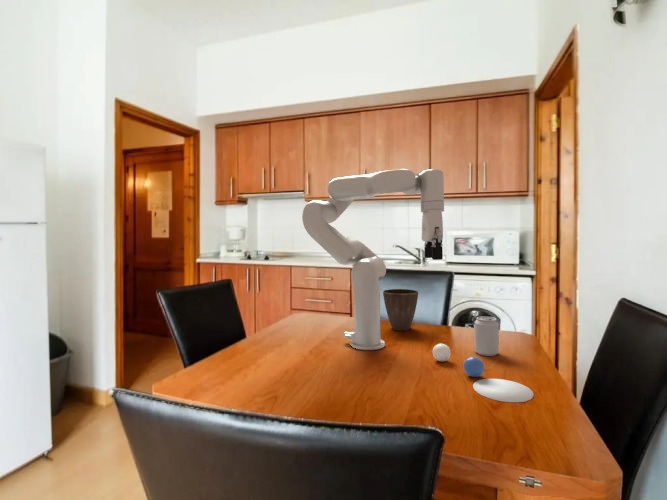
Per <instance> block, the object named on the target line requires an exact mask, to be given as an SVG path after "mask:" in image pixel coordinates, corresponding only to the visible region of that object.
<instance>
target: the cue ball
mask: <svg viewBox="0 0 667 500" xmlns="http://www.w3.org/2000/svg"><path fill="white" fill-rule="evenodd" d="M432 355H433V357H434V358H435V360H436V361H438V362H443V363H444V362H447V361H448V360H449V359H450V357H451V349H450V346H448V345H447V344H444V343H436V344H435V345H434V346H433V348H432Z"/></svg>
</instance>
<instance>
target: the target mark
mask: <svg viewBox="0 0 667 500" xmlns="http://www.w3.org/2000/svg"><path fill="white" fill-rule="evenodd" d="M472 388H473V390H474V391H475V392H476V393H477V394H479V395H481V396H482V397H484V398H487V399H490V400H494V401H499V402H502V403H524V402H527V401H531V399H533V398H534V391H532V389H530V387H528V386H526V385H524V384H522V383H519V382H516V381H513V380H507V379H502V378H483V379H479V380H476V381H475V382H474V383H473V385H472Z"/></svg>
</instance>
